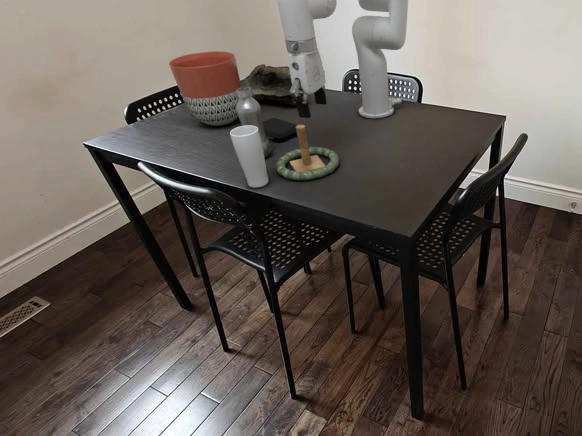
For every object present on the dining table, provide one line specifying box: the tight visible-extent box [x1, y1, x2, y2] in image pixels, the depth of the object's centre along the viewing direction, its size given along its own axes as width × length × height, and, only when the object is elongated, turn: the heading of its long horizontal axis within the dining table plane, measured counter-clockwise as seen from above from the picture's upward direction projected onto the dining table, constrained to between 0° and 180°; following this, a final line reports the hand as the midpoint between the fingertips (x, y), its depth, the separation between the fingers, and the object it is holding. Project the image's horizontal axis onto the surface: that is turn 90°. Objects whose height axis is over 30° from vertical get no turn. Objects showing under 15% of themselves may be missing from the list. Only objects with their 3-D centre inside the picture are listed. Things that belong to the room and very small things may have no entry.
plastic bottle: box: [236, 86, 272, 158], centre depth 117 cm, size 6×7×20 cm
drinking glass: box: [229, 125, 270, 189], centre depth 106 cm, size 7×7×15 cm
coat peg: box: [289, 124, 326, 172], centre depth 113 cm, size 8×8×12 cm
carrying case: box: [262, 117, 297, 142], centre depth 135 cm, size 11×3×15 cm
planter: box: [168, 50, 242, 127], centre depth 139 cm, size 20×20×21 cm
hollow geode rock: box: [242, 63, 304, 107], centre depth 159 cm, size 28×13×15 cm
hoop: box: [275, 146, 340, 182], centre depth 116 cm, size 17×17×2 cm
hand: (313, 110), depth 115 cm, fingers open, 9 cm apart
